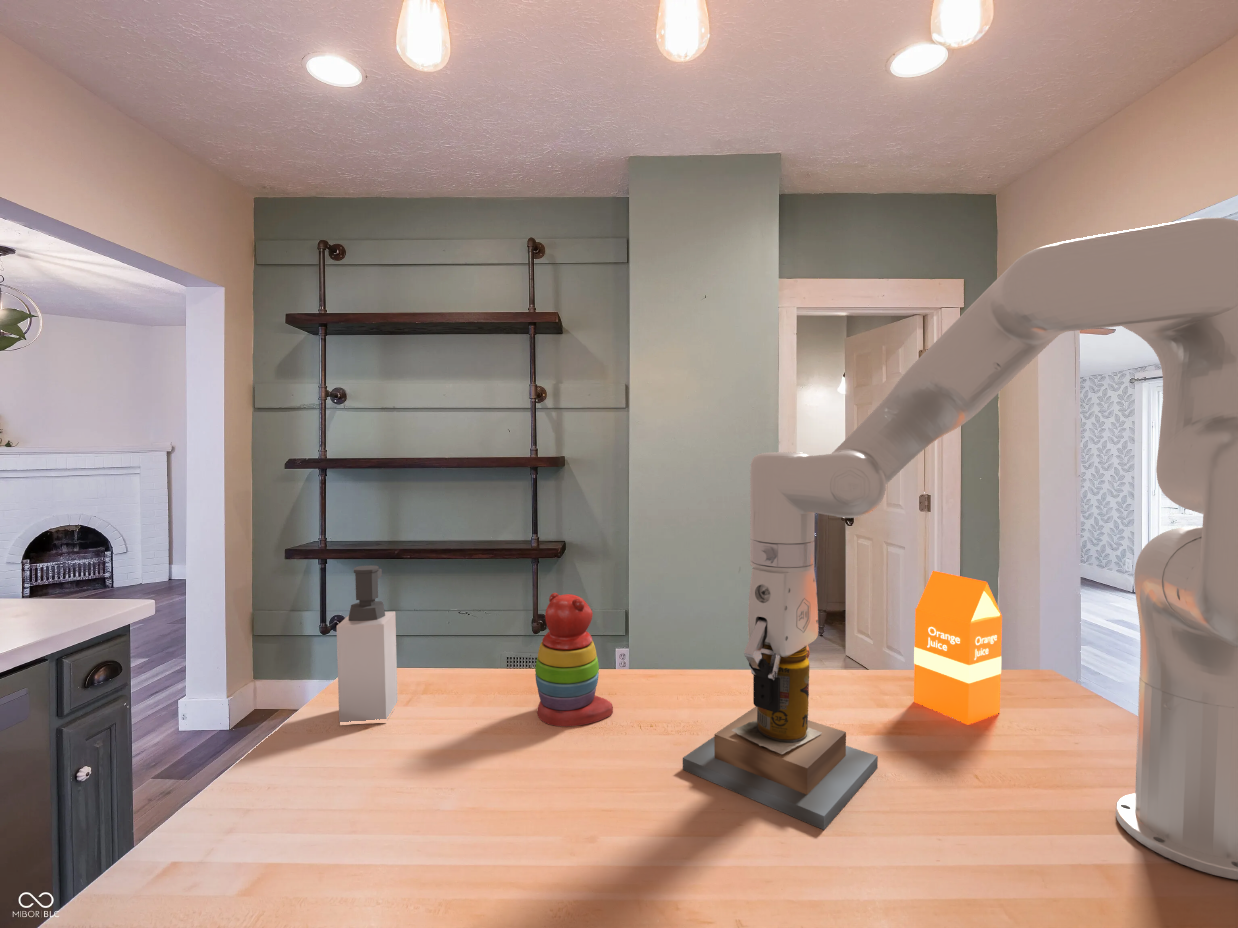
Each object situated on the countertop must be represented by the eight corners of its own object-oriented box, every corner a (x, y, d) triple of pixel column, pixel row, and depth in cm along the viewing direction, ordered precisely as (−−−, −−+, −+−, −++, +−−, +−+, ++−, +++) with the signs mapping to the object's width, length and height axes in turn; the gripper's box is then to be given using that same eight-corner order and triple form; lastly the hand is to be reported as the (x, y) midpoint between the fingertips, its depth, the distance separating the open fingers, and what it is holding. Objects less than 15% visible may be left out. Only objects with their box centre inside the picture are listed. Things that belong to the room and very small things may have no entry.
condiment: (822, 734, 76) (825, 637, 76) (781, 755, 71) (784, 651, 70) (772, 714, 82) (774, 623, 81) (731, 732, 76) (733, 635, 76)
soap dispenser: (401, 697, 98) (398, 559, 97) (386, 723, 90) (382, 571, 89) (358, 699, 98) (355, 560, 97) (339, 725, 89) (335, 573, 88)
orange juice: (967, 725, 88) (970, 585, 87) (912, 701, 96) (914, 572, 95) (1001, 713, 92) (1004, 578, 91) (945, 691, 99) (947, 567, 99)
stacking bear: (619, 712, 93) (618, 594, 92) (567, 736, 85) (566, 608, 85) (571, 691, 100) (570, 582, 99) (520, 712, 93) (518, 594, 92)
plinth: (877, 767, 77) (878, 731, 77) (823, 829, 65) (824, 787, 65) (748, 723, 89) (748, 692, 89) (682, 769, 77) (682, 733, 77)
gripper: (776, 570, 67) (776, 733, 67) (840, 547, 80) (839, 684, 81) (716, 561, 72) (716, 713, 72) (786, 541, 85) (785, 670, 85)
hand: (781, 696), depth 76 cm, fingers open, 6 cm apart
